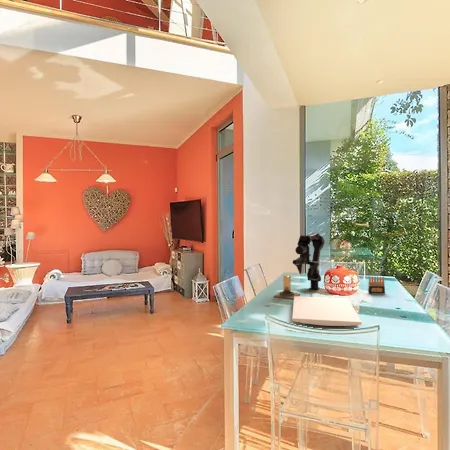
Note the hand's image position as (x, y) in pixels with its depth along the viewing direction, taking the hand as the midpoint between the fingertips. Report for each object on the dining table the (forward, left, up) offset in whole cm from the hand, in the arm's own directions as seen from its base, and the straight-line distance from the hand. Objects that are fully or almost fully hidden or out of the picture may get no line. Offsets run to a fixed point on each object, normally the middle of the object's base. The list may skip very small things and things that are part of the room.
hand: (305, 274), depth 231 cm
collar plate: (+14, -9, -13) cm, 21 cm away
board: (+46, +23, -14) cm, 53 cm away
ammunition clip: (-21, +44, -13) cm, 51 cm away
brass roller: (+14, -9, -12) cm, 21 cm away
